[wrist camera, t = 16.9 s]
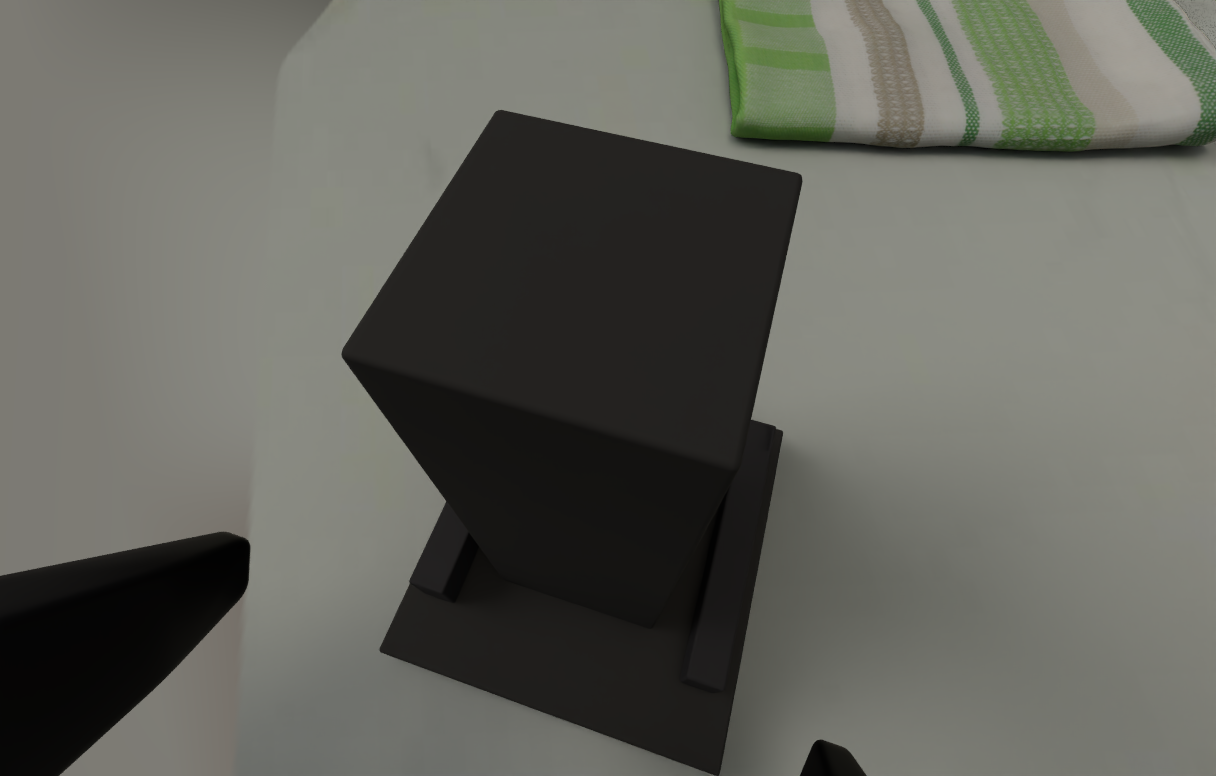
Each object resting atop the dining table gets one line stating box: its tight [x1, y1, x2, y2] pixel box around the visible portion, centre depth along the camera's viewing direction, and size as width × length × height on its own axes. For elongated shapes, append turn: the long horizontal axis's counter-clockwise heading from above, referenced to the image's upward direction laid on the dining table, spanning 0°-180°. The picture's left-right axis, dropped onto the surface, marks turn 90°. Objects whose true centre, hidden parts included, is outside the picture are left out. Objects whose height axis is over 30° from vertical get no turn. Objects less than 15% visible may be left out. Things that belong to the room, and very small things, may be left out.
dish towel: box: [719, 0, 1216, 152], centre depth 30 cm, size 17×23×4 cm
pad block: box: [342, 110, 802, 629], centre depth 12 cm, size 4×4×12 cm
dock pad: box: [379, 420, 783, 776], centre depth 17 cm, size 10×10×3 cm
